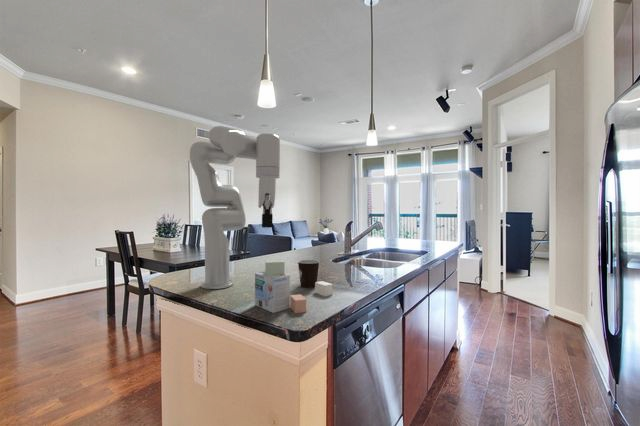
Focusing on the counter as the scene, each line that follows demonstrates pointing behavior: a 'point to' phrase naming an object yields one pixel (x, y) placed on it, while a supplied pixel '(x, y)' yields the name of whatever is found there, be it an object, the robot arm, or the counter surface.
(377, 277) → the counter surface
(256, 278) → the light bulb box
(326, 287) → the brick cream
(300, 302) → the brick terracotta
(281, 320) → the counter surface
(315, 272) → the coffee mug
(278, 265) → the brick sage
